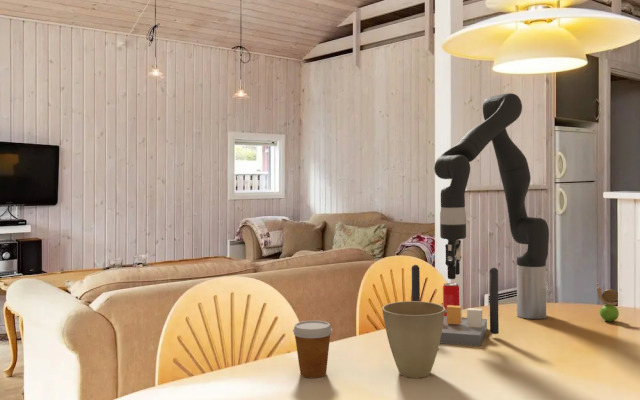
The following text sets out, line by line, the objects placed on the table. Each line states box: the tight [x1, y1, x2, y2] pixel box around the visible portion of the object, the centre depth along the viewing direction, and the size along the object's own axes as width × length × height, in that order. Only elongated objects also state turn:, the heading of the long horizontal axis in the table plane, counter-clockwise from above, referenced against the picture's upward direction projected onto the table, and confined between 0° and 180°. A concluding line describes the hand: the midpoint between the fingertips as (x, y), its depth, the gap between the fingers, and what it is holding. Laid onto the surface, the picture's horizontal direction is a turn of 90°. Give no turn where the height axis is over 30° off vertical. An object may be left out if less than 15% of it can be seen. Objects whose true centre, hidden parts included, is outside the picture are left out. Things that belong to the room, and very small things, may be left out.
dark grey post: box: [488, 267, 500, 335], centre depth 169 cm, size 2×2×19 cm
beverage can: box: [442, 282, 460, 316], centre depth 191 cm, size 5×5×12 cm
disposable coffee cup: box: [292, 320, 333, 379], centre depth 140 cm, size 10×10×12 cm
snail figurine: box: [596, 282, 620, 322], centre depth 186 cm, size 5×6×12 cm
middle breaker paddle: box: [447, 305, 463, 324], centre depth 173 cm, size 4×2×5 cm, turn 69°
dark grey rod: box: [411, 264, 421, 302], centre depth 177 cm, size 2×2×19 cm
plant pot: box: [381, 300, 445, 379], centre depth 139 cm, size 15×15×16 cm
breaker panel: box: [439, 307, 488, 347], centre depth 173 cm, size 17×20×8 cm
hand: (453, 276), depth 173 cm, fingers open, 8 cm apart
